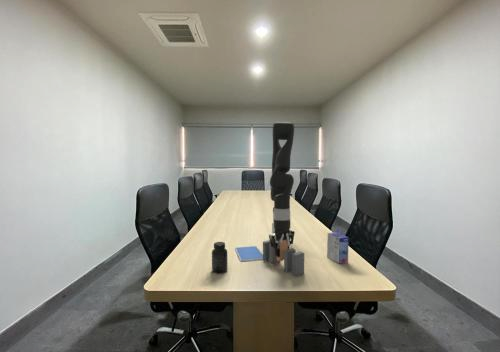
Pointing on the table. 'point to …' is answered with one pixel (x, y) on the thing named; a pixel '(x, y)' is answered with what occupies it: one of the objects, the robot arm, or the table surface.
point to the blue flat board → (249, 253)
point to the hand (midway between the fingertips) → (282, 255)
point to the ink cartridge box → (337, 247)
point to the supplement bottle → (219, 258)
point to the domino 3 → (282, 249)
